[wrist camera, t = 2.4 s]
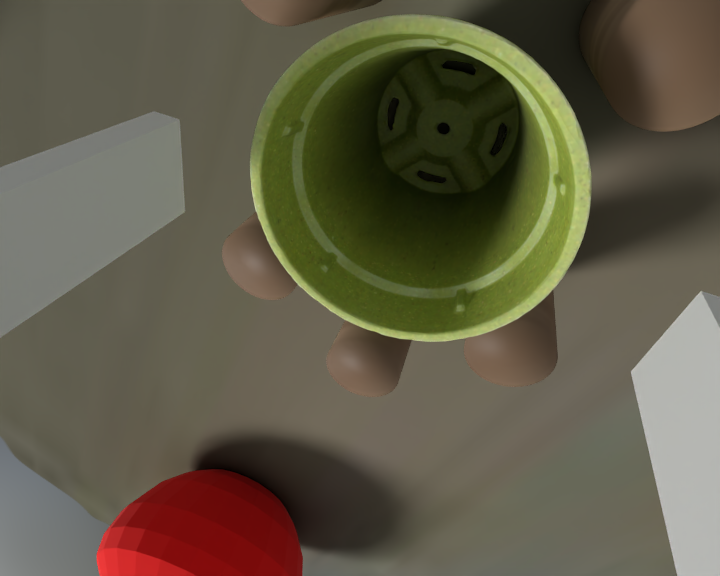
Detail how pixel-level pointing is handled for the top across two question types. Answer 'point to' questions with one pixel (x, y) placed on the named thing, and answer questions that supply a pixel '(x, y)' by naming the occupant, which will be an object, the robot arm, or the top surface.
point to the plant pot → (411, 193)
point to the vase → (202, 530)
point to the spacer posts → (628, 99)
